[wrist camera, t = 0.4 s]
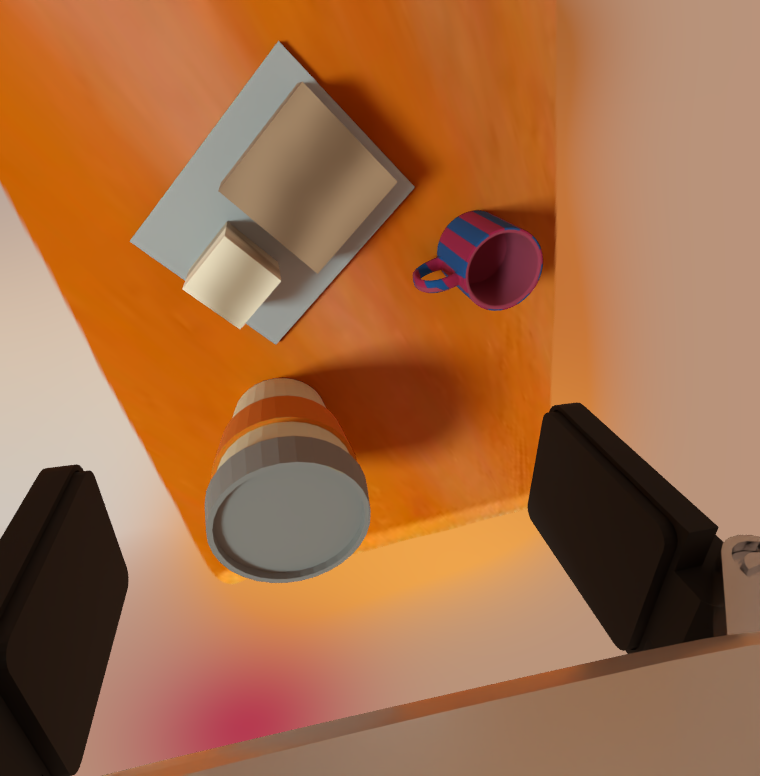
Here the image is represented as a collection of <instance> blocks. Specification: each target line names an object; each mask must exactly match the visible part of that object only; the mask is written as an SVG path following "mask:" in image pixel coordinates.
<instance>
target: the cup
mask: <svg viewBox="0 0 760 776" xmlns="http://www.w3.org/2000/svg"><path fill="white" fill-rule="evenodd" d="M542 267H543V256H542V251H541V247H540V245H539V243H538V241H537V240H536V239H535V238H534V236H533V235H531V234H530V233H529V232H527V231H525V230H523V229H521V228H519V227H517V226H515V225H513V224H511V223H509V222H507V221H505V220H503V219H501V218H499V217H497V216H495V215H493V214H491V213H488V212H485V211H470V212H467V213H464V214H462V215H460V216H458V217H457V218H455V219H454V220H453V221H452V222H451V223H450V224H449V225H448V226H447V227H446V229H445V230H444V232H443V233H442V235H441V238H440V240H439V244H438V250H437V258H435V259H432V260H430V261H428V262H426V263H424V264H422V265H421V266H419V267H418V268H417V269H416V270H415V271H414V272H413V282H414V285H415V287H416V288H417V289H418V290H420V291H423V292H427V293H438V292H442V291H446V290H449V289H451V288H453V287H455V286H457V287H458V288H459V289H460V290H461V291H462V292H463V293H464V294H466V295H467V296H468V297H469V298H470V299H471V300H472V301H473V302H474V303H475V304H476V305H478V306H480V307H481V308H484V309H487V310H493V311H495V310H504V309H508V308H511V307H513V306H515V305H517V304H519V303H520V302H521V301H523V300H524V299H525V298H526V297H527V296H528V295H529V294H530V293H531V292H532V290H533V289H534V288H535V286H536V284H537V282H538V281H539V278H540V275H541V272H542ZM438 270H442V272H443V273H444V275H445V276H446V277H445V278H442V279H439V280H433V281H426V280H422V279H421V278H422V277H424V276H425V275H427V274H429V273H432V272H434V271H438Z"/></svg>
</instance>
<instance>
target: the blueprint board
mask: <svg viewBox="0 0 760 776" xmlns="http://www.w3.org/2000/svg"><path fill="white" fill-rule="evenodd" d="M299 82H303V83H304V84H305V85H306V86H307V87H308V88H309V89H310V90H311V91H312V92H313V93H314V94H315V95H316V96H317V97H318V99H319V100H320V101H321V102H322V103H323V104H324V105H325V106H326V107H327V108H328V109H329V110H330V111H331V112H332V113H333V114H334V115H335V116H336V117H337V119H338V120H339V121H340V122H341V123H342V124H343V125H344V126H345V127H346V128H347V129H348V130H349V131H350V132H351V133H352V134H353V135H354V136H355V138H356V139H357V140H358V141H359V142H360V143H361V144H362V145H363V146H364V147H365V148H366V149H367V150H368V151H369V152H370V153H371V154H372V155H373V157H374V158H375V159H376V160H377V161H378V162H379V163H380V164H381V165H382V166H383V167H384V168H385V169H386V170H387V171H388V172H389V173H390V174H391V175H392V177H393V178H394V179H395V180H396V181H397V183H396V185H395V186H394V187H393V188H392V189H391V190H390V191H389V193H388V194H387V195H386V196H385V197H384V198H383V199H382V201H381V202H380V203H379V204H378V205H377V206H376V207H375V209H374V210H373V211H372V212H371V213H370V214H369V216H368V217H367V218H366V219H365V220H364V221H363V222H362V224H361V225H360V226H359V227H358V228H357V229H356V230H355V232H354V233H353V234H352V235H351V236H350V237H349V239H348V240H347V241H346V242H345V243H344V244H343V245H342V247H341V248H340V249H339V250H338V251H337V252H336V253H335V255H334V256H333V257H332V258H331V259H330V260H329V261H328V263H327V264H326V265H325V266H324V267H323V268H322V270H321V271H320V272H319V273H318V274H317V273H316V272H315V271H314V270H312V269H311V268H310V267H309V266H308V265H306V264H305V263H304V262H303V261H302V260H300V259H299V258H298V257H297V256H296V255H294V254H293V253H292V252H291V251H290V250H288V249H287V248H286V247H285V246H284V245H282V244H281V243H280V242H279V241H278V240H276V239H275V238H274V237H273V236H272V235H270V234H269V233H268V232H267V231H266V230H264V229H263V228H262V227H261V226H260V225H258V224H257V223H256V222H255V221H254V220H252V219H251V218H250V217H249V216H248V215H246V214H245V213H244V212H243V211H242V210H240V209H239V208H238V207H237V206H236V205H234V204H233V203H232V202H231V201H230V200H228V199H227V198H226V197H225V196H224V195H222V194H221V193H220V192H219V191H218V190H219V187H220V184H221V182H222V180H223V179H224V178H225V177H226V175H227V174H228V173H229V171H230V170H231V169H232V167H233V166H234V165H235V164H236V162H237V161H238V160H239V158H240V157H241V156H242V155H243V153H244V152H245V151H246V149H247V148H248V147H249V145H250V144H251V143H252V142H253V140H254V139H255V138H256V136H257V135H258V134H259V132H260V131H261V130H262V129H263V127H264V126H265V125H266V123H267V122H268V121H269V119H270V118H271V117H272V116H273V114H274V113H275V112H276V110H277V109H278V108H279V106H280V105H281V104H282V103H283V101H284V100H285V99H286V97H287V96H288V95H289V93H290V92H291V91H292V90H293V88H294V87H295V86H296V84H297V83H299ZM414 188H415V187H414V186H413V185H412V184H411V183H410V181H409V180H408V179H407V178H406V177H405V176H404V175H403V174H402V173H401V172H400V171H399V170H398V169H397V167H396V166H395V165H394V164H393V163H392V162H391V161H390V160H389V159H388V158H387V157H386V156H385V155H384V154H383V152H382V151H381V150H380V149H379V148H378V147H377V146H376V145H375V144H374V143H373V142H372V141H371V140H370V139H369V137H368V136H367V135H366V134H365V133H364V132H363V131H362V130H361V129H360V128H359V127H358V126H357V125H356V123H355V122H354V121H353V120H352V119H351V118H350V117H349V116H348V115H347V114H346V113H345V112H344V111H343V110H342V108H341V107H340V106H339V105H338V104H337V103H336V102H335V101H334V100H333V99H332V98H331V97H330V96H329V95H328V93H327V92H326V91H325V90H324V89H323V88H322V87H321V86H320V85H319V84H318V83H317V82H316V81H315V79H314V78H313V77H312V76H311V75H310V74H309V73H308V72H307V71H306V70H305V69H304V68H303V67H302V66H301V64H300V63H299V62H298V61H297V60H296V59H295V58H294V57H293V56H292V55H291V54H290V53H289V52H288V51H287V49H286V48H285V47H284V46H283V45H282V44H281V43H280V42H279V41H278V42H277V44H276V45H275V46H274V48H273V49H272V50H271V52H270V53H269V54H268V56H267V57H266V58H265V60H264V61H263V63H262V64H261V65H260V67H259V68H258V69H257V71H256V72H255V73H254V75H253V76H252V77H251V79H250V80H249V81H248V83H247V84H246V85H245V87H244V88H243V89H242V91H241V92H240V94H239V95H238V96H237V98H236V99H235V100H234V102H233V103H232V104H231V106H230V107H229V108H228V110H227V111H226V112H225V114H224V115H223V116H222V118H221V119H220V120H219V122H218V123H217V125H216V126H215V127H214V129H213V130H212V131H211V133H210V134H209V135H208V137H207V138H206V139H205V141H204V142H203V143H202V145H201V146H200V147H199V149H198V150H197V151H196V153H195V154H194V156H193V157H192V158H191V160H190V161H189V162H188V164H187V165H186V166H185V168H184V169H183V170H182V172H181V173H180V174H179V176H178V177H177V178H176V180H175V181H174V182H173V184H172V185H171V186H170V188H169V189H168V191H167V192H166V193H165V195H164V196H163V197H162V199H161V200H160V201H159V203H158V204H157V205H156V207H155V208H154V209H153V211H152V212H151V213H150V215H149V216H148V217H147V219H146V220H145V222H144V223H143V224H142V226H141V227H140V228H139V230H138V231H137V232H136V234H135V235H134V236H133V238H132V239H131V240H130V242H131V243H133V244H134V245H136V246H137V247H138V248H140V249H141V250H143V251H144V252H145V253H147V254H148V255H150V256H151V257H152V258H154V259H155V260H157V261H158V262H160V263H161V264H162V265H164V266H165V267H167V268H168V269H169V270H171V271H172V272H174V273H175V274H177V275H178V276H179V277H181V278H182V279H184V280H186V277H187V274H188V271H189V269H190V268H191V266H192V265H193V264H194V263H195V261H196V260H197V259H198V257H199V256H200V255H201V254H202V252H203V251H204V250H205V249H206V247H207V246H208V245H209V244H210V242H211V241H212V240H213V238H214V237H215V236H216V235H217V233H218V232H219V231H220V230H221V228H222V227H223V226H224V225H225V223H226V222H227V221H228V222H229V223H230V224H231V225H233V226H234V227H235V228H236V229H238V230H239V231H240V232H241V233H243V234H244V235H245V236H246V237H248V238H249V239H250V240H251V241H252V242H254V243H255V244H256V245H257V246H259V247H260V248H261V249H262V250H264V251H265V252H266V253H267V254H269V255H270V256H271V257H272V258H274V259H275V260H276V261H277V262H278V264H279V270H280V276H281V282H280V283H279V284H278V286H277V287H276V288H275V289H274V290H273V291H272V293H271V294H270V295H269V296H268V297H267V299H266V300H265V301H264V302H263V303H262V304H261V306H260V307H259V308H258V309H257V310H256V311H255V313H254V314H253V315H252V316H251V317H250V318H249V320H248V321H247V322H246V324H247V325H249V326H250V327H252V328H253V329H254V330H256V331H257V332H259V333H260V334H261V335H263V336H264V337H266V338H267V339H269V340H270V341H271V342H273V343H274V344H277V343H278V342H279V341H280V339H281V338H282V337H283V336H284V335H285V334H286V333H287V332H288V330H289V329H290V328H291V327H292V326H293V325H294V324H295V322H296V321H297V320H298V319H299V318H300V317H301V316H302V315H303V313H304V312H305V311H306V310H307V309H308V308H309V307H310V305H311V304H312V303H313V302H314V301H315V300H316V299H317V298H318V296H319V295H320V294H321V293H322V292H323V291H324V290H325V288H326V287H327V286H328V285H329V284H330V283H331V282H332V281H333V279H334V278H335V277H336V276H337V275H338V274H339V273H340V271H341V270H342V269H343V268H344V267H345V266H346V265H347V264H348V262H349V261H350V260H351V259H352V258H353V257H354V256H355V255H356V253H357V252H358V251H359V250H360V249H361V248H362V247H363V245H364V244H365V243H366V242H367V241H368V240H369V239H370V238H371V236H372V235H373V234H374V233H375V232H376V231H377V230H378V228H379V227H380V226H381V225H382V224H383V223H384V222H385V221H386V219H387V218H388V217H389V216H390V215H391V214H392V213H393V211H394V210H395V209H396V208H397V207H398V206H399V205H400V204H401V202H402V201H403V200H404V199H405V198H406V197H407V196H408V194H409V193H410V192H411V191H412V190H413V189H414Z"/></svg>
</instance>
